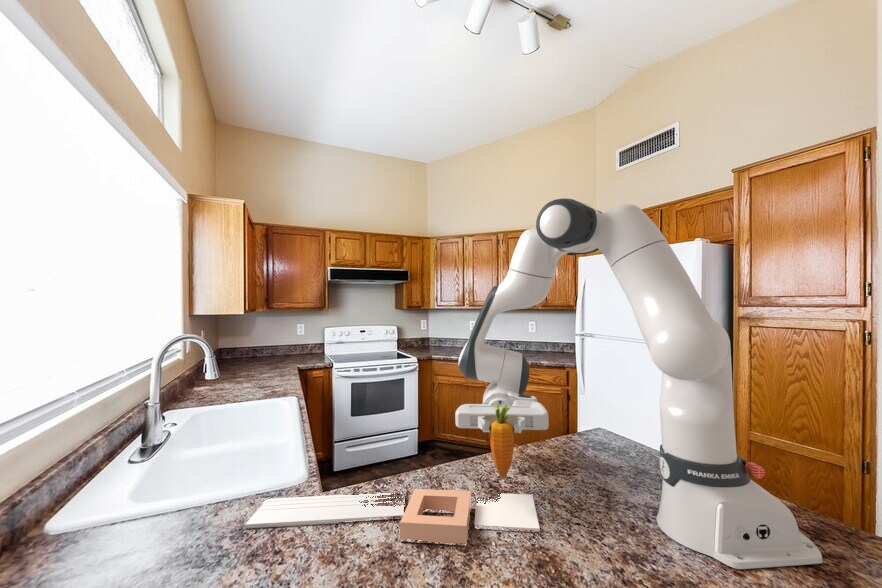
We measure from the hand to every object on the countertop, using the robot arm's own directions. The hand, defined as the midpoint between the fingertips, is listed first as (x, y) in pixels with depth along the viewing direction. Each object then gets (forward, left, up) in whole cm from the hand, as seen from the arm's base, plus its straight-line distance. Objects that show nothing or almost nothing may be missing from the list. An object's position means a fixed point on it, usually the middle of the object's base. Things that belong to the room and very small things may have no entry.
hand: (501, 428), depth 72 cm
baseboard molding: (+36, 0, -18) cm, 40 cm away
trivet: (0, -1, -17) cm, 17 cm away
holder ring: (+13, +4, -17) cm, 22 cm away
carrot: (0, -1, -10) cm, 11 cm away
